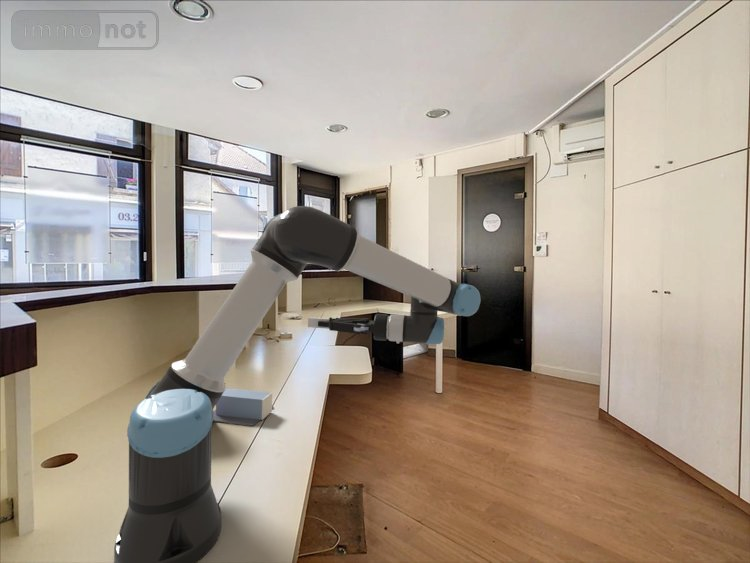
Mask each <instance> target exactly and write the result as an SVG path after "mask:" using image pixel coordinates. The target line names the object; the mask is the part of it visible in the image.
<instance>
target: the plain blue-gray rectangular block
mask: <svg viewBox="0 0 750 563" xmlns="http://www.w3.org/2000/svg"><path fill="white" fill-rule="evenodd" d="M272 406H273V392H269V391H261V390H259V391H258V390H252V389H251V390H250V389H240V388H226V389H225V391H224V392H223V394H222V396H221V397H220V399H219V400H218V402H217V403H216V405H215V410H216V415H222V416H231V417H241V418H250V419H259V420H260V421H263V420H264V419H265V418H267V417H268V416H269V415H270V413H272V412H273V409H272Z"/></svg>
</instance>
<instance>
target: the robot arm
mask: <svg viewBox="0 0 750 563" xmlns="http://www.w3.org/2000/svg"><path fill="white" fill-rule="evenodd" d="M250 254H251V263H250V264H249V266H248V267H247V268H246V270H245V271H244V273H243V274H242V276H241V278H239V280H238V282H237V283H236V284H235V286H234V287H233V289H232V291H231V292H230V293H229V295H228V296H227V297H226V299H225V300H224V302H223V304H222V305H221V306H220V308H219V309H218V311H216V313H215V315H214V316H213V318H212V319H211V320H210V322H209V324H208V325H207V326H206V327H205V330H204V331H203V332H202V334H201V335H200V337H199V338H198V340H197V341H196V343H195V344H194V345H193V347H192V348H191V350H190V351H189V352H188V354H187V355H186V356H185V358H183V359H181V360H180V359H179V360H177V361H173V362H172V363H171V365H170V366H169V368H168V369H166V372H165V373H164V375H163V376H162V377H161V379H160V380H159V381H157V382H156V383H155V385H153V386H152V387H151V388H150V390H148V393H147V394H146V395H145V399H143V400H141V401H140V402H139V403H138V404H137V405H136V406H135V407H134V408H133V410H132V411H131V413H130V416H129V423H128V426H127V431H126V435H127V436H126V437H127V438H128V439H127V440H128V506H127V510H126V513H125V515H124V518H123V521H122V523H121V525H120V529H119V533H118V534H117V537H116V540H115V542H114V550H113V553H114V554H113V555H114V556H113V557H114V558H113V563H197V562H199V560H201V559H202V558H203V557H204V556H205V555H206V554H207V553H209V551H210V550H211V549H212V548H213V547H214V546H215V545H216V543H217V541H218V540H219V537H220V535H221V532H222V518H223V516H222V510H221V507H220V504H219V503H218V501H217V498H216V495H215V492H214V489H213V486H212V446H213V445H212V442H213V440H212V433H213V427H212V426H213V423H214V422H213V412H214V408H216V403H217V402H218V400H219V399H220V397H221V396H222V394H223V392H224V391H225V390H226V389H227V388H226V383H225V377H226V376H227V374H228V372H229V371H230V370H231V368H232V367H233V365H234V364H235V362H236V360H238V358H239V356H240V354H241V353H242V351H243V350H244V348H245V347H246V346H247V344H248V342H249V341H250V339H251V337H252V336H253V335H254V333H255V332H256V330H257V329H258V327H259V325H260V324H261V322H262V321H263V319H264V318H265V316H266V315H267V313H268V312H269V310H270V309H271V307H272V306H273V304H274V302H276V299H277V298H278V296H279V295H280V294H281V292H282V290H283V289H284V287H285V285H286V284H287V283H288V282H292V281H296V280H298V278H299V277H300V275H301V274H302V272H303V271H304V270H305V267H306V266H307V265H315V266H321V267H325V268H328V269H331V270H333V271H336V272H340V271H342V270H346V271H347V272H348V271H349V272H351V273H353V274H356V275H358V276H360V277H363V278H365V279H367V280H369V281H371V282H374V283H376V284H380V285H382V286H383V287H384V286H385V287H387V288H389V289H392V290H393V291H394V290H395V291H397V292H399V293H402V295H403V294H404V295H406V296H409V297H410V310H409V311H410V312H409V313H410V314H409V315H405V314H392V313H391V314H390V315H389V314H387V313H376V314H374V319H373V320H370V318H367V317H364V318H351V317H349V318H347V317H335V318H333V317H328V318H324V317H314V316H313V317H312V316H310V317H309V316H308V318H307V328H315V329H329V331H331V332H332V331H333V332H340V333H341V332H342V333H349V334H354V335H355V334H356V335H361V334H362V335H367V334H368V333H372V334H373V335H372V336H373V340H375V341H384V342H386V341H387V340H388V341H390V342H396V343H395V344H400V343H413V344H423V345H440V344H442V343H443V341H444V337H445V319H444V318H443V317H439V316H438V312H442V313H446V314H452V315H457V316H458V317H461V316H462V317H470V316H473V315H474V314H475V313H477V312H478V311H479V308H480V304H481V294H480V291H479V290H478V289H477V288H476V287H475V286H474V285H471V284H467V283H458V282H456V281H454V280H452V279H450V278H448V277H446V276H444V275H442V274H440V273H438V272H435V271H433V270H431V269H429V268H428V267H425V266H423V265H421V264H419V263H417V262H415V261H413V260H411V259H409V258H407V257H405V256H403V255H402V254H401V255H400V254H398V253H396V252H395V251H392V250H390V249H388V248H386V247H384V246H382V245H380V244H378V243H376V242H374V241H372V240H370V239H368V238H366V237H364V236H361V235H360V234H359V230H358V229H357V228H356V227H354V226H353V225H351V224H349V223H346V222H345V221H343V220H341V219H339V218H337V217H335V216H333V215H332V214H328V213H327V212H326V211H325V212H324V210H323V211H322V210H321V209H318V208H315V207H311V206H307V205H297V206H294V207H293V206H292V207H291V208H288V209H287V210H285V211H283V212H281V213H279V214H276V215H275V216H273V217H271V218H270V219H269V221H268V222H267V223H266V224H265V225H264V227H263V230H262V232H261V235H260V237H259V238H258V239H257V241H256V243H255V244H254V245H253V247H252V248H251V250H250Z"/></svg>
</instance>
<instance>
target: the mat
mask: <svg viewBox="0 0 750 563" xmlns="http://www.w3.org/2000/svg"><path fill="white" fill-rule="evenodd" d="M273 409H274V406H273V405H272V410H273ZM260 421H261V420H259V419H250V418H241V417H231V416H222V415H216V409H215V410H213V422H212V423H221V424H230V425H237V426H239V425H240V426H248V427H254V426H255V425H256V424H258V423H259V422H260Z"/></svg>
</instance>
